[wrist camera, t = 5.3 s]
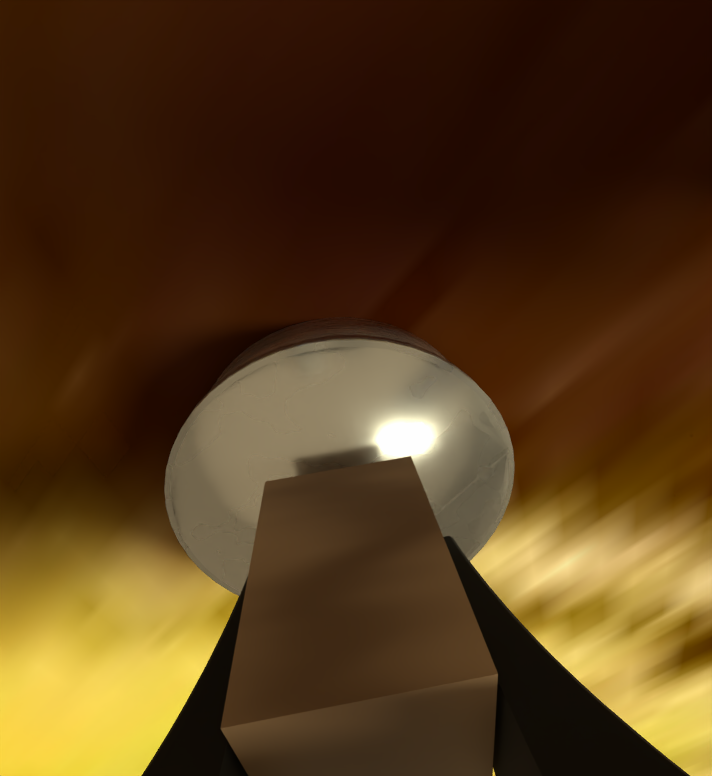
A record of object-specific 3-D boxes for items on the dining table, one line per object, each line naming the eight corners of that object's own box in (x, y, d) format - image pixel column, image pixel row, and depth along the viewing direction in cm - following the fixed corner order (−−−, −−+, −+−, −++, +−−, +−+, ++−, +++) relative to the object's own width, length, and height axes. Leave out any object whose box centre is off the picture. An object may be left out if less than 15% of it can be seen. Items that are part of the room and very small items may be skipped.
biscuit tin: (489, 297, 14) (539, 322, 11) (466, 532, 20) (495, 593, 17) (156, 325, 13) (109, 360, 10) (228, 563, 19) (211, 633, 16)
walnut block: (410, 456, 11) (498, 674, 6) (419, 557, 13) (491, 791, 8) (265, 481, 11) (220, 728, 6) (295, 580, 13) (282, 834, 8)
